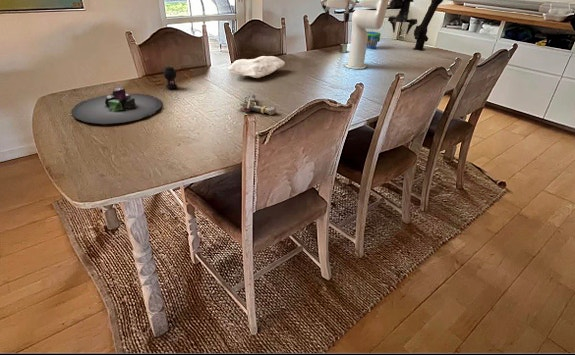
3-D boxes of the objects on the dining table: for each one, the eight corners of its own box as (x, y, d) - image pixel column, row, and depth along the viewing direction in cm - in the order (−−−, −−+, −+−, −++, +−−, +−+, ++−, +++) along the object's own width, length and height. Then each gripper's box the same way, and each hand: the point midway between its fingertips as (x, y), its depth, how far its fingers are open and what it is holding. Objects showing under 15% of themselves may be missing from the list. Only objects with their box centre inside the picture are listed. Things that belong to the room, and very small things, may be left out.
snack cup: (373, 45, 269) (375, 30, 263) (383, 48, 262) (386, 33, 256) (357, 47, 261) (359, 32, 256) (367, 50, 254) (370, 35, 249)
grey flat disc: (174, 113, 149) (170, 91, 144) (79, 131, 131) (72, 107, 127) (148, 93, 173) (144, 73, 169) (65, 106, 156) (59, 85, 151)
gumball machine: (165, 90, 172) (162, 69, 166) (163, 86, 176) (159, 65, 171) (180, 88, 175) (177, 67, 169) (177, 85, 179) (174, 64, 174)
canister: (338, 51, 249) (339, 44, 247) (343, 50, 252) (344, 43, 249) (342, 53, 246) (343, 45, 244) (347, 52, 248) (348, 45, 246)
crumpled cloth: (215, 70, 197) (215, 54, 191) (268, 61, 215) (270, 45, 209) (238, 89, 184) (239, 72, 178) (292, 77, 202) (294, 61, 196)
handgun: (275, 94, 165) (242, 93, 164) (275, 109, 150) (239, 108, 149) (275, 100, 167) (242, 99, 166) (275, 115, 152) (239, 114, 151)
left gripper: (360, -18, 168) (355, 21, 177) (324, -21, 173) (322, 18, 183) (356, -17, 162) (351, 24, 171) (320, -20, 167) (317, 20, 177)
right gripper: (387, 8, 243) (383, 33, 251) (414, 12, 234) (409, 37, 243) (393, 7, 251) (389, 31, 259) (419, 10, 242) (414, 34, 250)
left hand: (336, 21), depth 177 cm, fingers open, 9 cm apart
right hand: (400, 33), depth 253 cm, fingers open, 9 cm apart
